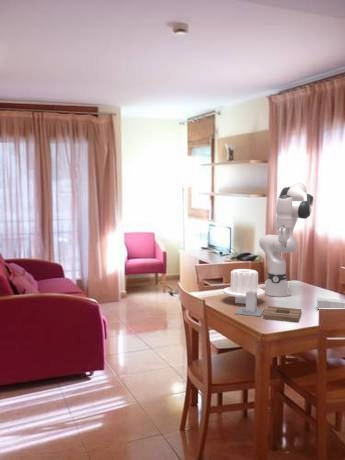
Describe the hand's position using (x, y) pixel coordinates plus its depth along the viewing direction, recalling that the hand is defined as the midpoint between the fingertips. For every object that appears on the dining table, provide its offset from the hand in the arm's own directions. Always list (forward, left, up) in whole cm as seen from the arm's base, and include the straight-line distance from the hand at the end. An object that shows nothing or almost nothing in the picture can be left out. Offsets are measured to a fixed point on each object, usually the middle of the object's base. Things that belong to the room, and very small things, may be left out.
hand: (283, 248), depth 246 cm
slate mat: (+12, -16, -35) cm, 40 cm away
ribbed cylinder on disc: (-10, -24, -35) cm, 44 cm away
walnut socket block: (+13, +2, -35) cm, 38 cm away
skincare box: (-9, +18, -32) cm, 38 cm away
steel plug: (+13, -15, -34) cm, 40 cm away
